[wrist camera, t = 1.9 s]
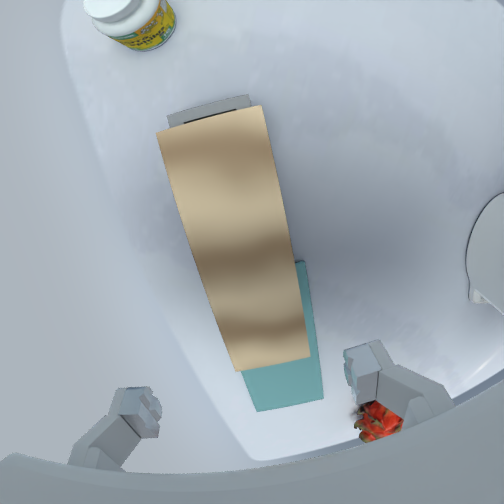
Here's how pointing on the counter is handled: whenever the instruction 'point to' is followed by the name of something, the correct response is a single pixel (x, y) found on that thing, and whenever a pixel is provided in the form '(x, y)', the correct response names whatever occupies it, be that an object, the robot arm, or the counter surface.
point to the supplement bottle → (133, 21)
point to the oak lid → (238, 234)
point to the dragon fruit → (377, 422)
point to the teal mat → (289, 367)
